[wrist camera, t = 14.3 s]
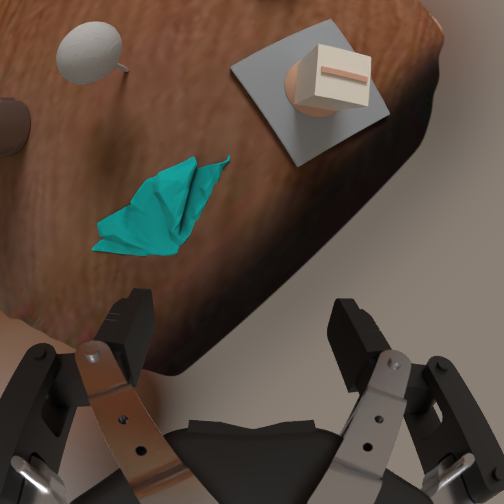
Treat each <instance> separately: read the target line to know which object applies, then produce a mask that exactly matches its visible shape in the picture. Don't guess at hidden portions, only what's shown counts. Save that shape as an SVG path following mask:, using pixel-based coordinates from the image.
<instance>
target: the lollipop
mask: <svg viewBox="0 0 504 504" xmlns="http://www.w3.org/2000/svg"><path fill="white" fill-rule="evenodd" d="M121 52H122V41H121V37H120V35H119V33H118V32H117V30H116V29H115V28H114V27H113V26H111V25H109V24H107V23H104V22H89V23H85V24H82V25H79V26H77V27H76V28H75V29H73V30H72V31H71V32H69V33H68V34H67V36H66V37H65V38H64V39H63V41H62V42H61V44H60V46H59V48H58V51H57V57H56V63H57V68H58V70H59V72H60V74H61V75H62V76H63V78H65V79H66V80H67V81H69V82H71V83H74V84H81V85H83V84H90V83H94V82H97V81H99V80H101V79H102V78H104V77H106V76H107V75H108V74H109V73H110V72H111V71H112V70H113V69H114V68H118V69H120V70H122V71H124V72H128V71H129V68H127V67H125V66H123V65H121V64H119V63H118V61H119V59H120V56H121Z"/></svg>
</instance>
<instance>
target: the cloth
mask: <svg viewBox="0 0 504 504" xmlns="http://www.w3.org/2000/svg"><path fill="white" fill-rule="evenodd" d="M229 160H230V154H229V156H228V158H227V160H226V161H225V162H222V163H218V164H212V165H207V166H204V167H201V168H198V169H196V167H197V161H196V159H195V157H192V158H190V159H188V160H186V161H184V162H182V163H180V164H177V165H175V166H173V167H170V168H168V169H166V170H164V171H161V172H159V173H158V174H157V175H156V176H155V177H153V178H148V179H147V180H146V181H145V182H144V183H143V184H142V186H141V187H140V188H139V190H138V191H137V192H136V194H135V195H134V197H133V198H132V200H131V201H130V203H131V205H128V206H126V207H124V208H123V209H121V210H119V211H117V212H116V213H114V214H112V215H110V216H108V217H106V218H105V219H103V220H102V221H100V222H98V223H97V228H98V232H99V236H100V237H102V238H104V240H100V241H99V242H98V243H97V244H96V245H95V246H94V247H93V248H92V251H101V252H112V253H119V254H133V255H138V256H148V255H149V254H152V255H163V256H167V255H173V254H176V253H178V248H179V246H180V245H182V244H183V243H184V242H185V241H186V239H187V238H188V236H189V235H190V233H191V230H192V228H193V226H194V221H197V220H198V218H199V216H200V214H201V212H202V210H203V208H204V207H205V205H206V202H207V200H208V198H209V196H210V195H211V192H212V189H213V186H214V183H217V181H218V179H219V177H220V175H221V172H222V169H223V166H225V165H226V164H227V163H228V162H229Z"/></svg>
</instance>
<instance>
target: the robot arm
mask: <svg viewBox="0 0 504 504" xmlns="http://www.w3.org/2000/svg"><path fill="white" fill-rule="evenodd" d="M29 130H30V114H29V111H28V108H27V107H26V105H25V104H24V103H22V102H20V101H15V100H14V98H0V157H4V156H8V155H12V154H15V153H17V152H18V151H20V150H21V148H22V147H23V146H24V144H25V142H26V140H27V138H28V134H29ZM154 329H155V316H154V308H153V299H152V292H151V290H150V289H140V288H133V290H132V291H131V293H130V295H129V297H128V298H127V299H125V298H122V299H120V300H119V301H118V302H116V303H115V304H114V305H113V306H112V308H111V310H110V311H109V313H108V315H107V317H106V320H104V322H103V324H102V325H101V327H100V329H99V331H98V332H97V334H96V336H95V338H94V340H93V341H88V342H85V343H83V344H82V345H80V346H79V347H78V348H77V350H76V352H75V353H70V354H57V353H56V351H55V349H54V347H53V346H51V345H50V344H47V343H40V344H36V345H34V346H32V347H31V348H29V349H28V350H27V352H26V354H25V355H24V357H23V359H22V360H21V362H20V363H19V365H18V367H17V369H16V370H15V372H14V374H13V376H12V378H11V379H10V381H9V383H8V385H7V387H6V389H5V391H4V393H3V394H2V397H1V398H0V504H68V503H67V501H66V497H65V485H64V482H63V481H62V479H61V478H60V477H59V476H58V471H59V467H60V463H61V459H62V455H63V451H64V448H65V444H66V441H67V437H68V434H69V431H70V428H71V424H72V421H73V418H74V415H75V412H76V409H77V407H78V406H79V407H81V406H91V408H92V410H93V413H94V415H95V418H96V420H97V422H98V425H99V427H100V429H101V431H102V433H103V435H104V438H105V440H106V442H107V444H108V446H109V448H110V450H111V452H112V454H113V456H114V458H115V459H116V461H117V463H118V465H119V467H120V468H119V469H117V470H116V471H115V472H113V473H112V474H110V475H109V476H108V477H106V478H105V479H104V480H102V481H101V482H99V483H98V484H97V485H95V486H94V487H92V488H91V489H89V490H88V491H86V492H85V493H83V494H82V495H80V496H79V497H77V498H76V499H74V500H73V501H72V502H71V503H70V504H483V503H484V502H486V501H488V500H489V499H491V498H492V497H494V496H495V495H497V494H498V493H500V492H501V491H503V490H504V454H503V452H502V450H501V448H500V446H499V444H498V442H497V440H496V438H495V436H494V434H493V432H492V430H491V428H490V426H489V424H488V422H487V420H486V419H485V417H484V415H483V413H482V411H481V410H480V408H479V406H478V404H477V402H476V401H475V399H474V397H473V396H472V394H471V392H470V391H469V389H468V387H467V386H466V384H465V382H464V381H463V379H462V377H461V376H460V374H459V373H458V371H457V369H456V368H455V366H454V365H453V364H452V363H451V361H449V360H448V359H446V358H444V357H441V356H433V357H431V358H430V359H429V361H428V362H427V364H426V365H420V364H412V363H411V362H410V360H409V358H408V357H407V356H406V355H405V354H403V353H402V352H399V351H396V350H392V349H391V348H390V346H389V344H388V342H387V341H386V339H385V337H384V336H383V334H382V333H381V331H379V328H378V326H377V325H376V323H375V321H374V320H373V318H372V316H370V315H369V314H368V313H367V312H365V311H364V310H363V309H359V307H358V305H357V304H356V302H355V301H354V299H343V298H342V299H340V298H338V299H336V300H335V302H334V306H333V309H332V313H331V316H330V321H329V324H328V328H327V337H328V341H329V343H330V345H331V348H332V351H333V353H334V356H335V358H336V361H337V364H338V366H339V369H340V371H341V374H342V376H343V379H344V382H345V385H346V387H347V390H348V392H349V393H350V392H359V395H360V396H359V398H358V399H357V401H356V403H355V405H354V408H353V410H352V412H351V414H350V416H349V418H348V420H347V422H346V424H345V426H344V428H343V429H342V431H341V433H340V435H338V434H335V433H333V432H330V431H327V430H324V429H319V428H316V427H315V423H314V420H306V421H293V422H282V423H278V424H274V425H270V426H266V427H262V428H258V429H249V428H243V427H239V426H235V425H231V424H227V423H222V422H212V421H198V420H189V425H188V428H185V429H179V430H175V431H172V432H169V433H167V434H165V435H162V434H161V432H160V431H159V429H158V428H157V426H156V425H155V423H154V422H153V420H152V419H151V417H150V416H149V414H148V412H147V411H146V409H145V408H144V406H143V404H142V403H141V401H140V399H139V398H138V396H137V394H136V392H135V391H134V389H133V387H136V386H137V382H138V379H139V376H140V373H141V370H142V366H143V363H144V360H145V357H146V354H147V351H148V348H149V345H150V342H151V339H152V336H153V333H154ZM436 402H437V404H438V406H439V408H440V410H441V412H442V416H443V419H442V423H441V422H440V420H439V418H438V415H437V413H436V411H435V409H434V407H433V405H434V404H435V403H436ZM403 417H404V419H405V422H406V424H407V427H408V429H409V432H410V434H411V437H412V440H413V443H414V445H415V448H416V451H417V454H418V456H419V459H420V462H421V465H422V468H423V471H424V474H425V477H424V479H423V483H422V488H421V490H420V489H418V488H417V487H415V486H413V485H412V484H410V483H408V482H407V481H405V480H404V479H402V478H401V477H399V476H398V475H396V474H394V473H393V472H391V471H390V470H388V469H387V468H386V466H387V463H388V461H389V458H390V455H391V452H392V450H393V447H394V444H395V441H396V438H397V435H398V432H399V429H400V425H401V422H402V419H403Z"/></svg>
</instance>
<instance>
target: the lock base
mask: <svg viewBox="0 0 504 504" xmlns="http://www.w3.org/2000/svg"><path fill="white" fill-rule="evenodd" d="M318 44H322V45H327V46H331V47H335V48H340V49H344V50H348V51H351V52H354V50H353V49H352V47H351V46H350V44H349V43H348V42H347V40H346V39H345V37H344V36H343V34H342V33H341V32H340V30H339V29H338V27H337V26H336V25H335V23H334V22H333V21H332V19H329V20H326V21H324V22H321V23H319V24H316V25H314V26H311V27H309V28H306V29H304V30H302V31H299V32H297V33H295V34H293V35H291V36H288V37H286V38H284V39H282V40H280V41H278V42H276V43H274V44H272V45H270V46H268V47H266V48H264V49H262V50H260V51H258V52H256V53H254V54H253V55H251V56H249V57H247V58H245V59H244V60H242V61H240V62H238V63H237V64H235V65H233V66H231V67H230V69H231V71H232V72H233V73H234V75H235V76H236V77H237V79H238V80H239V81H240V83H241V84H242V86H243V87H244V88H245V90H246V91H247V92H248V94H249V95H250V97H251V98H252V100H253V101H254V102H255V104H256V105H257V107H258V108H259V110H260V111H261V113H262V114H263V115H264V117H265V118H266V120H267V121H268V123H269V124H270V126H271V127H272V129H273V130H274V132H275V133H276V135H277V136H278V138H279V140H280V141H281V143H282V144H283V146H284V147H285V149H286V150H287V152H288V154H289V155H290V157H291V158H292V160H293V162H294V163H295V165H296V166H297V167H299V166H301V165H302V164H304V163H306V162H307V161H309V160H311V159H312V158H314V157H316V156H317V155H319V154H321V153H322V152H324V151H326V150H328V149H329V148H331V147H333V146H334V145H336V144H338V143H339V142H341V141H343V140H345V139H346V138H348V137H350V136H352V135H353V134H355V133H357V132H359V131H360V130H362V129H364V128H366V127H368V126H369V125H371V124H373V123H375V122H377V121H378V120H380V119H382V118H384V117H386V116H387V115H389V114H390V113H389V111H388V109H387V107H386V105H385V103H384V101H383V99H382V97H381V96H380V94H379V92H378V90H377V88H376V86H375V85H374V83H373V81H372V79H371V78H370V89H369V102H368V107H360V108H353V109H346V110H339V111H333V110H328V109H322V108H316V107H310V106H304V105H297V104H294V101H295V90H296V78H297V66H298V64H299V63H300V62H301V61H302V60H303V59H304V58H305V57H306V56H307V55H308V54H309V53H310V52H311V51H312V50H313V49H314V48H315V47H316V46H317V45H318Z"/></svg>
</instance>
